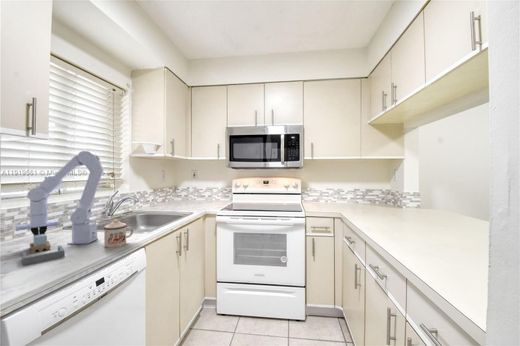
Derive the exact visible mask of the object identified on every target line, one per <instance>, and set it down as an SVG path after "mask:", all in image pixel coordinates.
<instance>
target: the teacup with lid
mask: <svg viewBox="0 0 520 346" xmlns="http://www.w3.org/2000/svg"><path fill="white" fill-rule="evenodd" d="M103 230H104V234H103V235H104V237H103V238H104V244H103V245H104V247H105V248H119V247H122V246H124V245H126V244H127V239H129V238H130V237H132V235H133V234H134V228H133V227H131V226H127V223H124V222H121V221H119V220H118V219H113V221H112V222H110V223H108V224H106V225H104V226H103ZM127 230H130V231H131V232H130V233H129V235H127Z"/></svg>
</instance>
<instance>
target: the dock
mask: <svg viewBox="0 0 520 346" xmlns="http://www.w3.org/2000/svg"><path fill="white" fill-rule="evenodd" d="M65 251H66V250H65V249H64V248H63V246H62V245H60V244H59V245H57V250H56V251H50V252H45V253H41V254H35V255H30V256H28V255H27V251H23V252H22V259H21V260H22V265H23V266H27V265H31V264H36V263H40V262H46V261H49V260H50V261H51V260H55V259H59V258H64V257H65V254H66V252H65Z"/></svg>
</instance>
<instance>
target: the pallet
mask: <svg viewBox="0 0 520 346" xmlns="http://www.w3.org/2000/svg"><path fill="white" fill-rule="evenodd" d="M29 247H30V252H31V253H30V254H32V253H33V254H34V253H36V251H38V252H39V253H40V252H43V250H44V249H45V250H46V251H50V250H51V243H50V242H49V240H47V245H41V246H35V247H34V242H31V243H29Z"/></svg>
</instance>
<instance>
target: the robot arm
mask: <svg viewBox="0 0 520 346" xmlns="http://www.w3.org/2000/svg"><path fill="white" fill-rule="evenodd" d="M83 166H85V167H86V169H88V171H89V174H88V177H87V180H86V184H85V185H84V189H83V191H82V195H81V198H80V200H79V203H78V205H77V206H76V208H75V210H74V212H73V213H72V214H71V215H70V219H69V220H70V222H71V241H68V242H67V243H66V244H67V245H73V244H74V245H77V244H78V245H79V244H83V245H84V244H85V245H86V244H89V243H92V242H94V241H96V240H98V239H99V238H98V225H97V224H96V223H94V222H91V220H90V218H91V217H92V204H93V201H94V199H95V195H96V192H97V190H98V187H99V183H100V181H101V178H102V175H103V173H104V168H103V166H102V163H101V159H100V157H99V156H98V155H97V154H96V153H95V152H93V151H88V150H82V151H80V152H78V154H75V155H74V156H73V157H72V158H71V159H70V160H69V161H68V162H67V163H65V165H63V167H61V169H59V170H58V171H57V172H56V173H55V174H49V175H47V176H46V175H45V177H44V180H42V181H41V182H40V183H38V184H36V185H35V187H33V188H30V189H29V191H28V192H27V195H26V196H27V198H28V199H29V223H27V224H21V225H16V226H15V232H19V231H26V230H30V231H31V233H32V234H33V236H34V235H40V234H46V232H47V231H48V227H58V226H61V220H55V221H53V220H52V221H48V198H49V197H50V195H51V194H52V193H53V192H54V191H55V190H56V189H57V188H58V187H60V185H62V183H63V178H65V177H67V176H68V175H69V174H70V173H71V172H73V171H74V170H75V169H76V168H77V167H83Z"/></svg>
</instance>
